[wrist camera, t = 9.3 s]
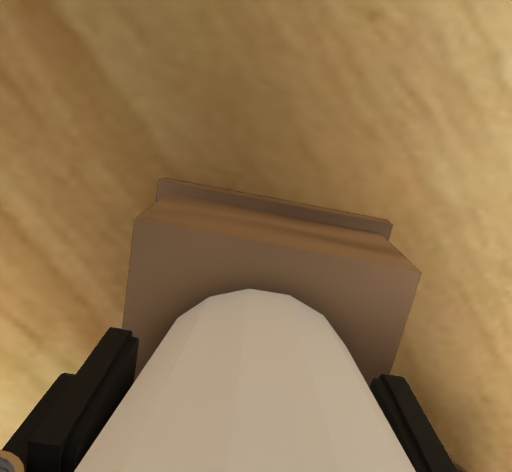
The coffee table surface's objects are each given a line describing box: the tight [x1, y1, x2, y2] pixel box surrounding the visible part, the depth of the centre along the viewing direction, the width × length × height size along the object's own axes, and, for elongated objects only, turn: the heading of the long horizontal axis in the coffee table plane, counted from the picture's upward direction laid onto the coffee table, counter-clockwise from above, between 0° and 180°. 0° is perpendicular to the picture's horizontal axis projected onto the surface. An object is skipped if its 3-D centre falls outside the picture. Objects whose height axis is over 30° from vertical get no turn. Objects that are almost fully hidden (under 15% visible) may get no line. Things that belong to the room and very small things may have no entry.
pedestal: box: [122, 178, 421, 388], centre depth 15 cm, size 9×9×5 cm
